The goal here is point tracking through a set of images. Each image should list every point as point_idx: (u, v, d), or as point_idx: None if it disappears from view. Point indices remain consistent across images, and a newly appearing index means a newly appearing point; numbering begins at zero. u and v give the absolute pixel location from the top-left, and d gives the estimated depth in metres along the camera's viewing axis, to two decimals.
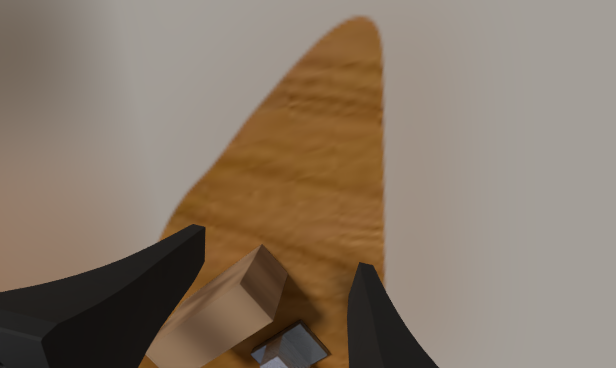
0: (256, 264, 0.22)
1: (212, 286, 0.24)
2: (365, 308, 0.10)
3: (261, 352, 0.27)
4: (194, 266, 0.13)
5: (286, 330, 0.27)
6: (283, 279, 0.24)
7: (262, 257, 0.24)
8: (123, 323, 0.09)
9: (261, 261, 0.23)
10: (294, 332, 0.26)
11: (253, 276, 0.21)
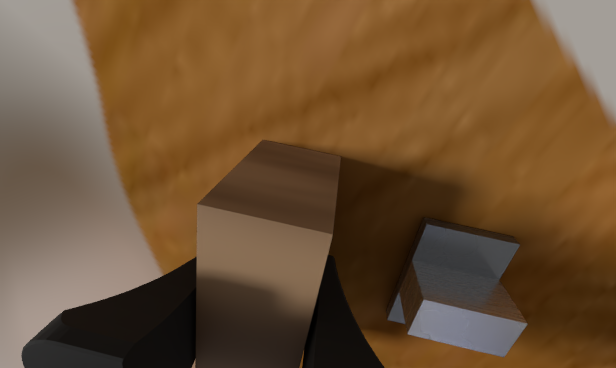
0: (252, 165, 0.10)
1: None
2: None
3: (401, 306, 0.15)
4: None
5: (413, 250, 0.14)
6: (334, 166, 0.11)
7: (267, 153, 0.11)
8: (179, 337, 0.09)
9: (265, 158, 0.11)
10: (428, 244, 0.13)
11: (245, 182, 0.09)
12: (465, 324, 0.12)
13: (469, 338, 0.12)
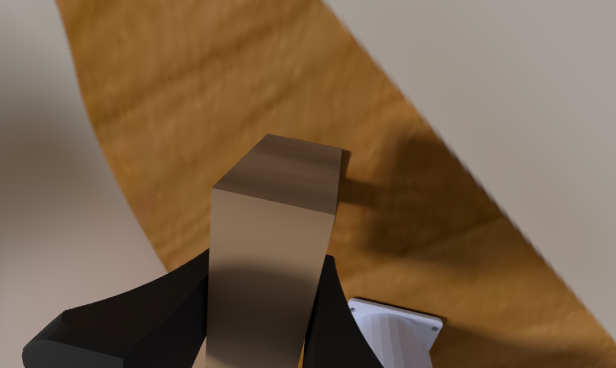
0: (259, 155, 0.11)
1: None
2: (316, 296, 0.10)
3: None
4: None
5: None
6: (335, 157, 0.12)
7: (272, 145, 0.12)
8: (179, 337, 0.09)
9: (271, 150, 0.12)
10: None
11: (254, 170, 0.10)
12: None
13: None
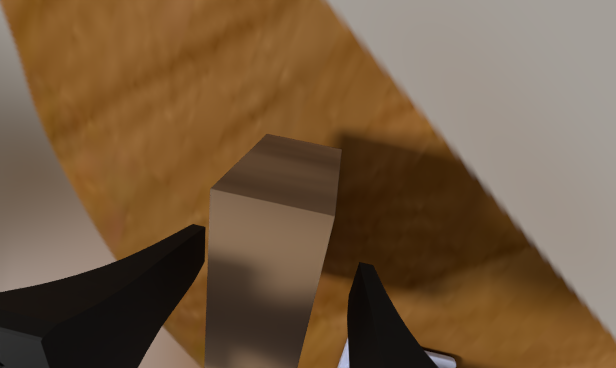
0: (258, 155, 0.11)
1: None
2: (365, 308, 0.10)
3: None
4: (194, 266, 0.13)
5: None
6: (335, 157, 0.12)
7: (272, 146, 0.12)
8: (123, 323, 0.09)
9: (270, 150, 0.12)
10: None
11: (253, 170, 0.10)
12: None
13: None
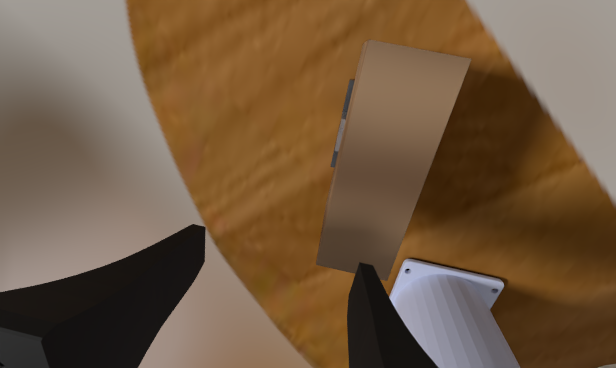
0: None
1: (341, 142, 0.16)
2: (365, 308, 0.10)
3: None
4: (194, 266, 0.13)
5: (344, 105, 0.19)
6: None
7: None
8: (123, 323, 0.09)
9: None
10: None
11: None
12: None
13: None
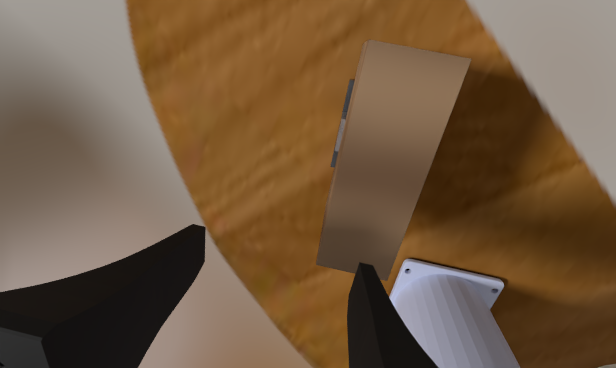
0: None
1: (341, 142, 0.16)
2: (365, 308, 0.10)
3: None
4: (194, 266, 0.13)
5: (344, 105, 0.19)
6: None
7: None
8: (123, 323, 0.09)
9: None
10: None
11: None
12: None
13: None
